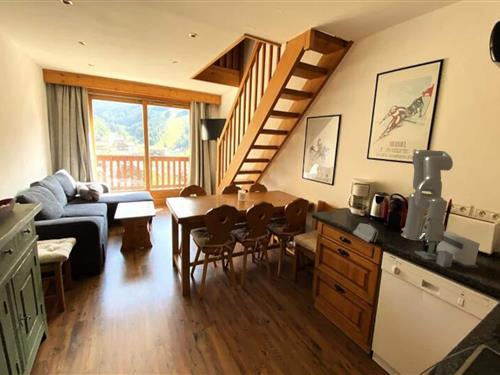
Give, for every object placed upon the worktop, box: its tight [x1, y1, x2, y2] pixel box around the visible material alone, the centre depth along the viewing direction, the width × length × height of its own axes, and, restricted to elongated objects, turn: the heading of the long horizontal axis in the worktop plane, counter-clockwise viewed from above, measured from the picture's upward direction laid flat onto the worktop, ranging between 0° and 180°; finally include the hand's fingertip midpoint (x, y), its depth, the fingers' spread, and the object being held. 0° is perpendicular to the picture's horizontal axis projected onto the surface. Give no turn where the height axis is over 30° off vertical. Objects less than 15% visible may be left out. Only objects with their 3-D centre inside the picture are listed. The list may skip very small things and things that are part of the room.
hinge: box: [352, 222, 379, 243], centre depth 165 cm, size 17×5×10 cm, turn 13°
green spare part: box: [423, 241, 436, 254], centre depth 140 cm, size 4×4×7 cm
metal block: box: [435, 251, 453, 268], centre depth 131 cm, size 4×4×7 cm
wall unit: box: [435, 230, 481, 269], centre depth 138 cm, size 20×8×13 cm, turn 5°
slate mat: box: [414, 250, 438, 261], centre depth 141 cm, size 9×9×1 cm
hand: (428, 250), depth 141 cm, fingers closed on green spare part, 4 cm apart
